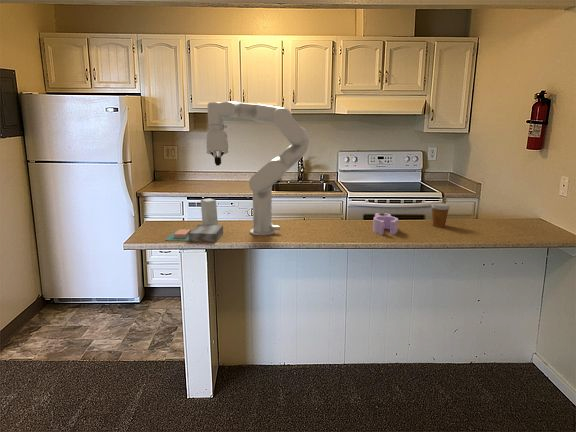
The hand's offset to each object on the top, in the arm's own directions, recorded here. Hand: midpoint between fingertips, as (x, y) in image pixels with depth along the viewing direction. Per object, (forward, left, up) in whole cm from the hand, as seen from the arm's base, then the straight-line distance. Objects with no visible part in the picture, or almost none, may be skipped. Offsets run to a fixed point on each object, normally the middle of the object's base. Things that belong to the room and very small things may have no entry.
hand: (218, 165), depth 225 cm
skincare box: (+8, -9, -35) cm, 37 cm away
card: (+17, +11, -32) cm, 38 cm away
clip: (-85, -10, -35) cm, 93 cm away
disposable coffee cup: (-116, -21, -35) cm, 123 cm away
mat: (+17, +11, -34) cm, 40 cm away
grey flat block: (+4, +11, -34) cm, 36 cm away
